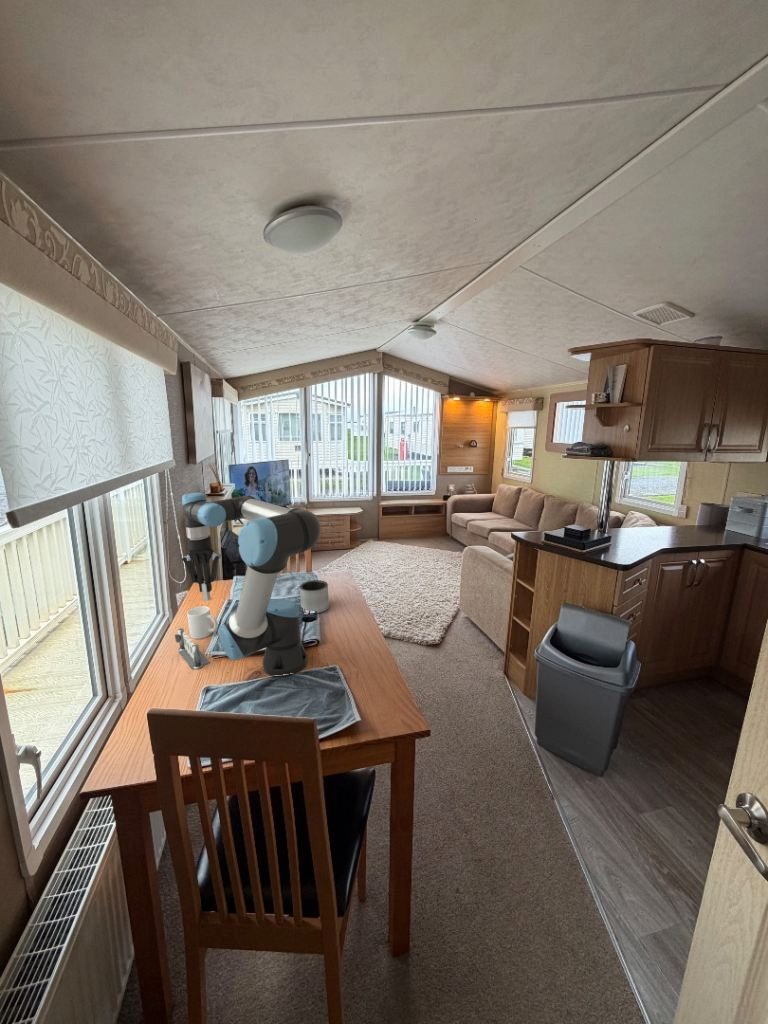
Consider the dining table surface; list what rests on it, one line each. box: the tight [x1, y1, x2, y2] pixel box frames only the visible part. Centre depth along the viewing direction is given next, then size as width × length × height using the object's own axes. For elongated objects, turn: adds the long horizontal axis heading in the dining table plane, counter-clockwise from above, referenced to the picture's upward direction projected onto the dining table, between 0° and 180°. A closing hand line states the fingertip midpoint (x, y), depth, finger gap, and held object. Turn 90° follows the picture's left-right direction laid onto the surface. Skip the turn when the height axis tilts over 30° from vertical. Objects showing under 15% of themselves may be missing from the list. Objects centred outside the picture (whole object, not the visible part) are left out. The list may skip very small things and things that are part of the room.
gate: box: [183, 631, 196, 660], centre depth 153 cm, size 12×1×7 cm, turn 40°
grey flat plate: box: [178, 649, 211, 670], centre depth 153 cm, size 15×6×1 cm, turn 42°
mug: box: [186, 605, 218, 640], centre depth 168 cm, size 12×8×10 cm
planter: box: [299, 579, 330, 614], centre depth 189 cm, size 13×12×11 cm
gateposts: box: [174, 627, 204, 670], centre depth 152 cm, size 19×4×8 cm, turn 42°
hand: (207, 599), depth 152 cm, fingers closed
